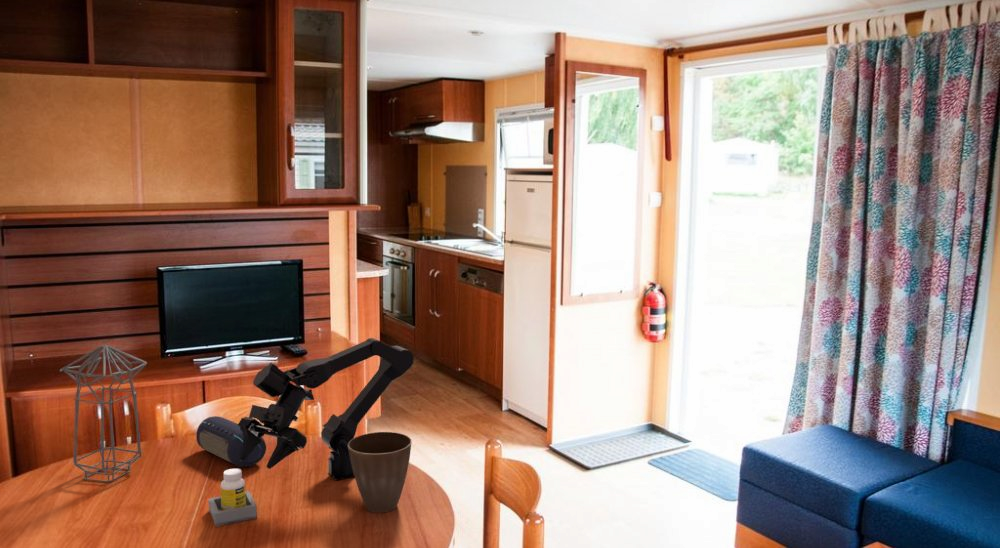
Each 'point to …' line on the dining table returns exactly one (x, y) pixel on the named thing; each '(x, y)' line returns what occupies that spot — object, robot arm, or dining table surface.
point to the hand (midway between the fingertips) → (254, 464)
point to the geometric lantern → (95, 358)
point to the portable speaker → (227, 441)
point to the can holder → (232, 511)
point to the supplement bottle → (232, 490)
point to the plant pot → (380, 468)
